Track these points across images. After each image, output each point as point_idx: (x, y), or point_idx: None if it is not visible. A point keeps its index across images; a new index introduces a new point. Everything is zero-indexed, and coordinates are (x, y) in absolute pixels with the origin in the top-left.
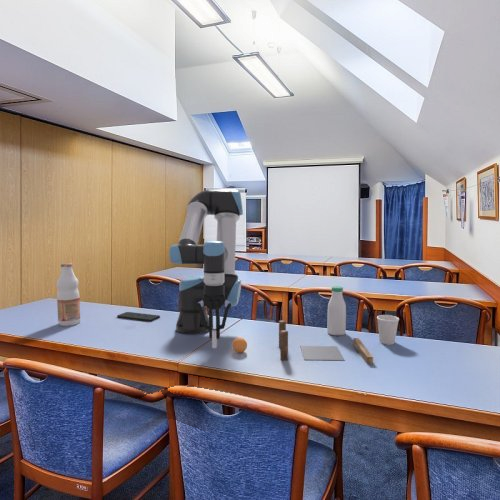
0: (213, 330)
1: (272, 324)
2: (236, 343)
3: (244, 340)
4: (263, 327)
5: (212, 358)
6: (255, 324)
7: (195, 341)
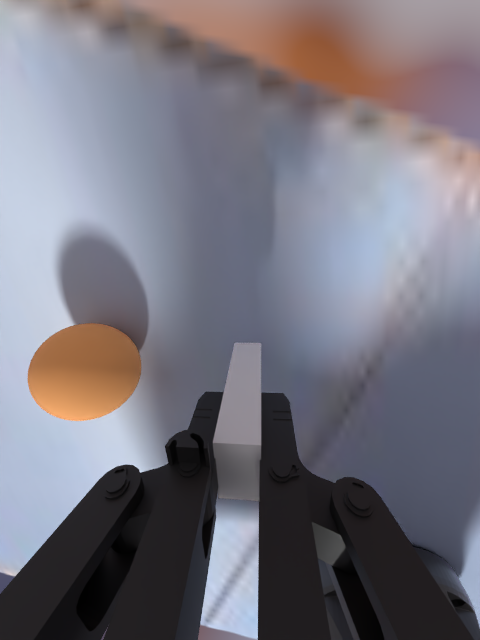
0: (245, 453)
1: None
2: (80, 349)
3: (28, 381)
4: None
5: (248, 249)
6: None
7: (364, 475)
